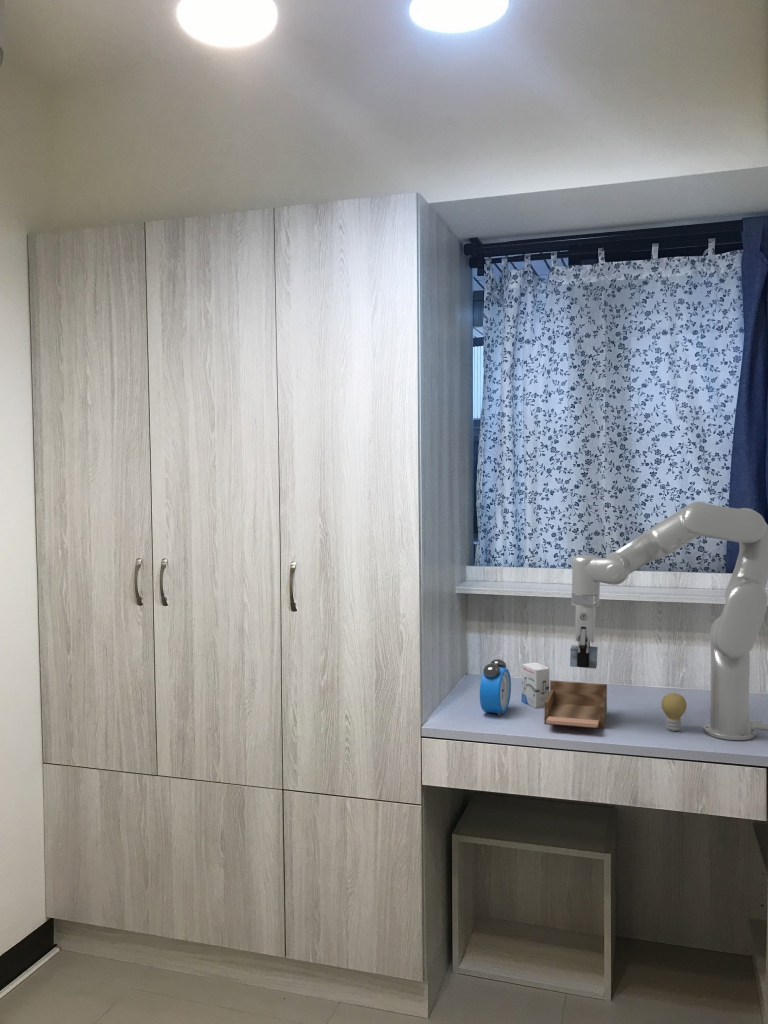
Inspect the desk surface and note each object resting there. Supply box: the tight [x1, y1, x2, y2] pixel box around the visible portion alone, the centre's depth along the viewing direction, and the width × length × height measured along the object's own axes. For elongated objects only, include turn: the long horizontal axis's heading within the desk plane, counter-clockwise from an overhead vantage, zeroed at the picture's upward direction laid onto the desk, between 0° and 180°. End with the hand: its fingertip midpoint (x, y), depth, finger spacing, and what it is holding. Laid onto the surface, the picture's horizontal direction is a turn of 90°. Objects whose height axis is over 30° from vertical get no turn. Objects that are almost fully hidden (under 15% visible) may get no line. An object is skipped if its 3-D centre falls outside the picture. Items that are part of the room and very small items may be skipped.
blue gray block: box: [569, 644, 598, 669], centre depth 232 cm, size 7×5×5 cm, turn 73°
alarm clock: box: [479, 658, 512, 717], centre depth 242 cm, size 13×6×15 cm, turn 157°
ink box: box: [521, 662, 550, 709], centre depth 250 cm, size 9×5×12 cm, turn 21°
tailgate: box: [546, 716, 599, 728], centre depth 225 cm, size 13×1×7 cm
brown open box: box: [543, 680, 608, 730], centre depth 235 cm, size 16×15×8 cm
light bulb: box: [660, 692, 687, 732], centre depth 224 cm, size 6×6×10 cm
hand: (583, 664), depth 232 cm, fingers closed on blue gray block, 4 cm apart
